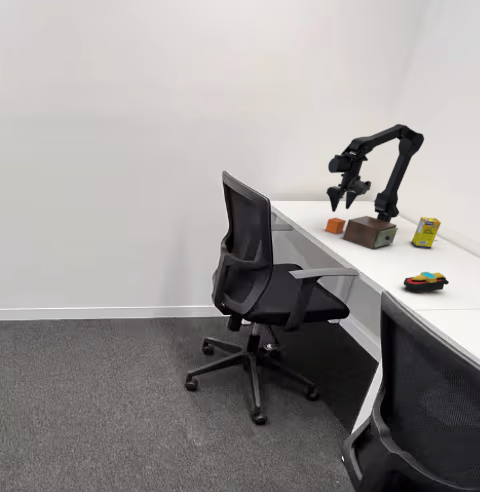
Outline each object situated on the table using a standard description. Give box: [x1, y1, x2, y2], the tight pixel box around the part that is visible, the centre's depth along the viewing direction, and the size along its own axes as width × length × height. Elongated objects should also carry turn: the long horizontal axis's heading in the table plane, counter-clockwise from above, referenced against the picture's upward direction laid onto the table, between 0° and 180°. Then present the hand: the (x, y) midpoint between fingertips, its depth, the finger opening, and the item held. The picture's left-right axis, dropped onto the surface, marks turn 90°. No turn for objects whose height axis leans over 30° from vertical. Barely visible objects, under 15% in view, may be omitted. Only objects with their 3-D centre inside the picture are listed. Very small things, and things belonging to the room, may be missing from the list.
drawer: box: [374, 226, 398, 248], centre depth 224 cm, size 14×11×6 cm
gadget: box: [403, 271, 450, 293], centre depth 185 cm, size 6×13×6 cm, turn 95°
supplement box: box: [410, 216, 442, 249], centre depth 223 cm, size 6×6×11 cm
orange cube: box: [325, 217, 346, 235], centre depth 236 cm, size 5×5×5 cm
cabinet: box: [342, 215, 397, 250], centre depth 225 cm, size 14×13×8 cm
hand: (340, 210), depth 232 cm, fingers open, 9 cm apart
